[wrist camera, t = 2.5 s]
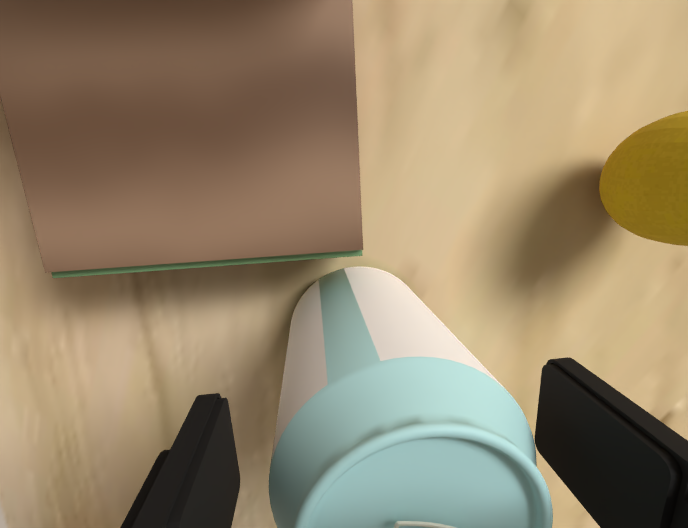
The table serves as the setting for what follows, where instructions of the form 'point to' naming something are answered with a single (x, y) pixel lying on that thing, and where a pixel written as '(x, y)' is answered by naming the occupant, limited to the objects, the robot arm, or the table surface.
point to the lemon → (650, 181)
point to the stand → (183, 131)
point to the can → (395, 420)
